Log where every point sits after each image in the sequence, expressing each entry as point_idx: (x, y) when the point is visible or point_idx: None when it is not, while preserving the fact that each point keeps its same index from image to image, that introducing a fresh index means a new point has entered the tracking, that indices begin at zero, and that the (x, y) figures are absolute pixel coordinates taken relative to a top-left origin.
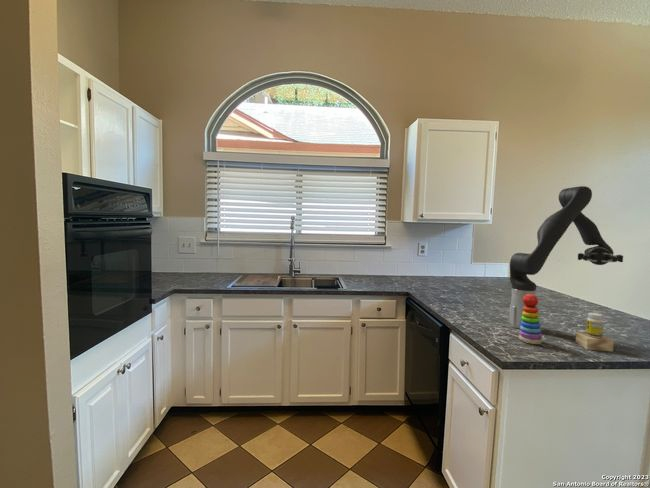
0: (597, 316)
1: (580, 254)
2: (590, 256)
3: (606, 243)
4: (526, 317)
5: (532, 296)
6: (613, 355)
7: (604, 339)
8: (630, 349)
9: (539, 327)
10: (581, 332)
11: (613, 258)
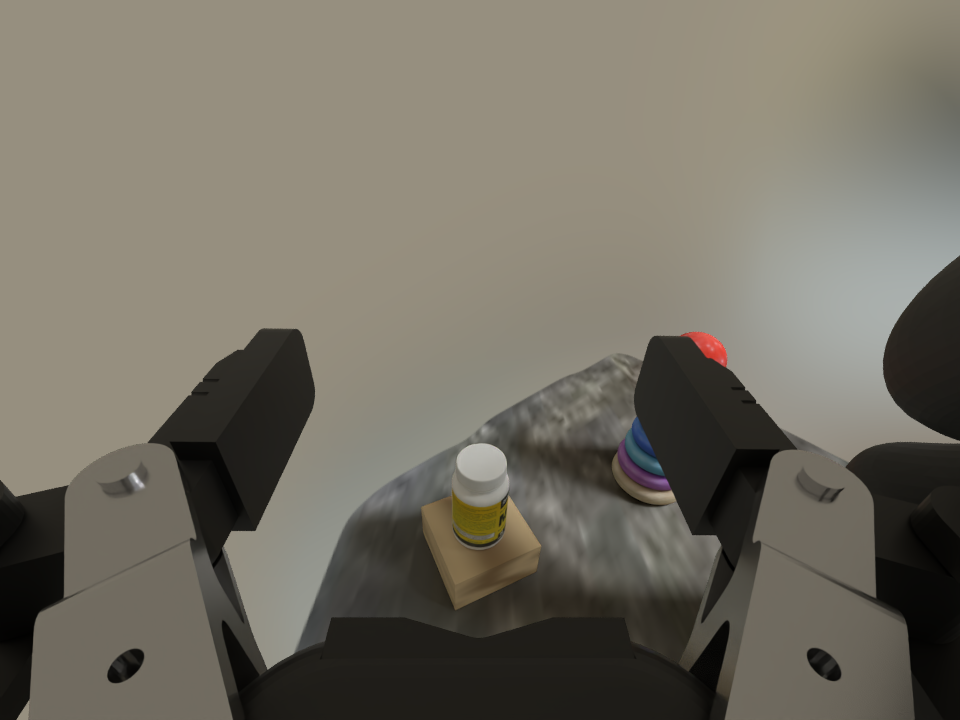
0: (473, 447)
1: (929, 494)
2: (714, 610)
3: None
4: None
5: (686, 333)
6: (427, 496)
7: (448, 503)
8: (356, 604)
9: (637, 447)
10: (522, 545)
11: (299, 346)
